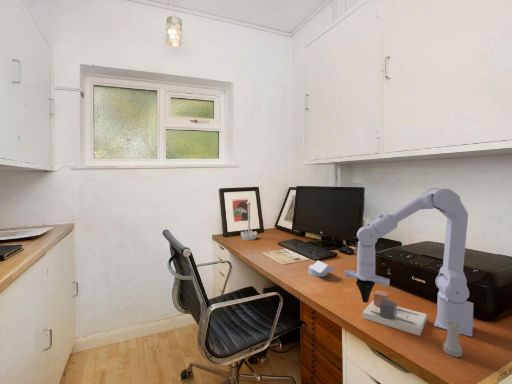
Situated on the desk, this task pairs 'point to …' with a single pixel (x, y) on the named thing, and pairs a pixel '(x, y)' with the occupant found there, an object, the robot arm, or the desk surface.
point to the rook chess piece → (452, 340)
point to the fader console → (397, 318)
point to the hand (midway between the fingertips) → (365, 301)
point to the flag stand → (250, 234)
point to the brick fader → (380, 297)
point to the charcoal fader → (388, 309)
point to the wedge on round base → (319, 269)
